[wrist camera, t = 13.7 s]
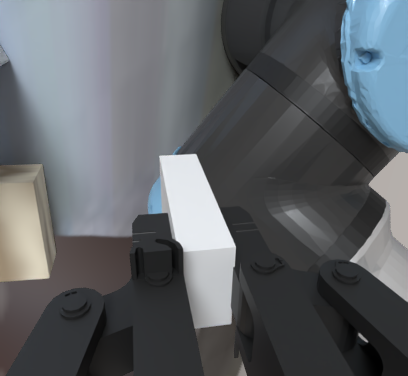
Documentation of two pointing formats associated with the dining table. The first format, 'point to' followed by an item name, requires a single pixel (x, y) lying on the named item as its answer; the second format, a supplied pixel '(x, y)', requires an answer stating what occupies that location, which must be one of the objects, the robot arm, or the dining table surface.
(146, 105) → the dining table surface
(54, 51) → the dining table surface
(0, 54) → the supplement box
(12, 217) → the maple block
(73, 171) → the dining table surface
